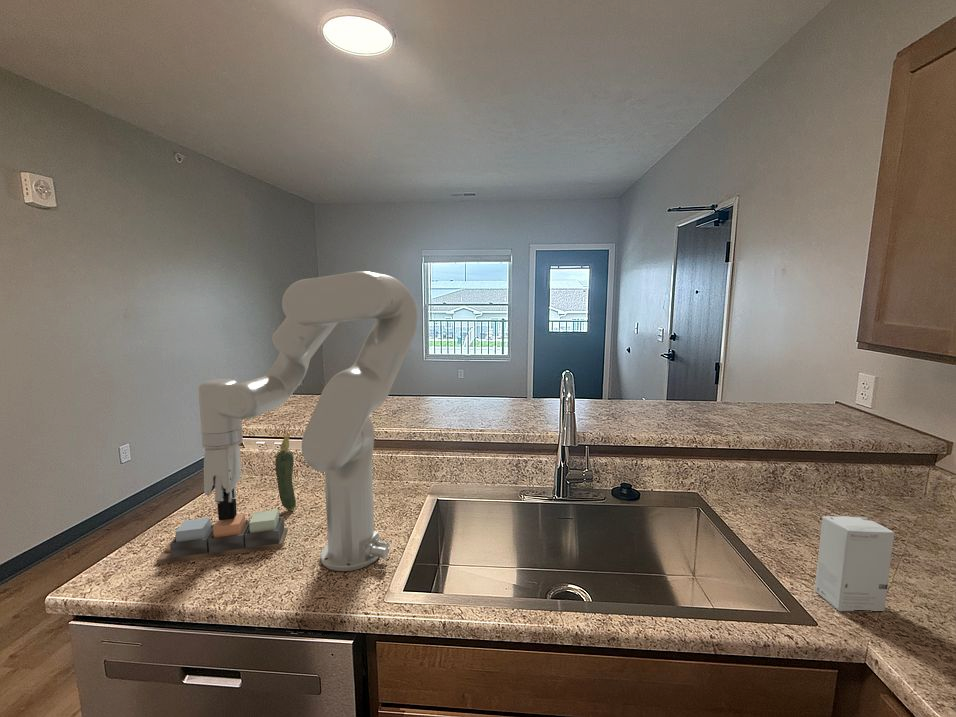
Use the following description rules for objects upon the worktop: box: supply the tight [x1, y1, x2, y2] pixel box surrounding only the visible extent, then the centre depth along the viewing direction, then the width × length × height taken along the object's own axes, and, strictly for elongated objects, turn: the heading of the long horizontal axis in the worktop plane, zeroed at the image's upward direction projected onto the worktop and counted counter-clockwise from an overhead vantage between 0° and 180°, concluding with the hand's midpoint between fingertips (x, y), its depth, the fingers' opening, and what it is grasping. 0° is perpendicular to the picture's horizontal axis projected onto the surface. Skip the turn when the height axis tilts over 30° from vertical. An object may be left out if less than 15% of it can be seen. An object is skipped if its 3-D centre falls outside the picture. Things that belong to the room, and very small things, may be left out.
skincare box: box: [814, 515, 895, 612], centre depth 77 cm, size 8×6×15 cm
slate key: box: [174, 516, 212, 542], centre depth 94 cm, size 5×5×4 cm
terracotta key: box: [213, 513, 247, 538], centre depth 95 cm, size 5×5×4 cm
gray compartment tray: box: [155, 515, 289, 565], centre depth 95 cm, size 24×7×4 cm, turn 105°
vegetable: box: [274, 434, 297, 511], centre depth 111 cm, size 4×4×20 cm
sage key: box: [249, 509, 280, 533], centre depth 97 cm, size 5×5×4 cm
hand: (227, 517), depth 95 cm, fingers closed
